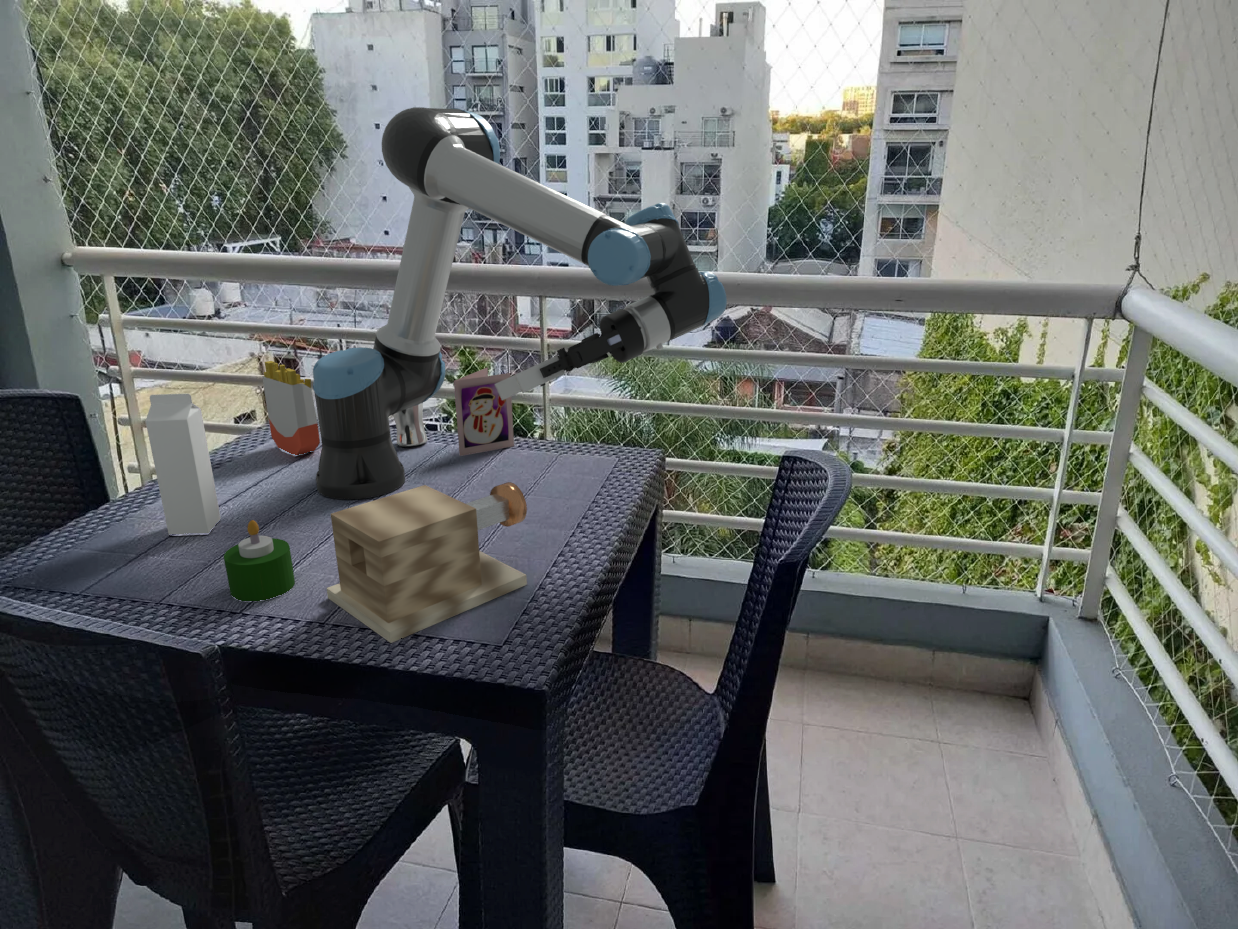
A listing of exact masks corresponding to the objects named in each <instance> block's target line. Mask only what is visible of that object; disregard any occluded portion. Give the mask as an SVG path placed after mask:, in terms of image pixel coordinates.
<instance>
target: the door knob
mask: <svg viewBox="0 0 1238 929" xmlns="http://www.w3.org/2000/svg"><path fill="white" fill-rule="evenodd" d="M489 492H490V493H489V495H487V496H484V497H481V498H478V499H476V500H473V501H470V502H466V503H465V504H467V505H469V506H472V507H474V508H476V513H477V527H478V531H480V530H483V529H486V528H488V527H492V526H494V525H497V524H499V525H502V526H503V527H506V528H507V527H508V528H509V527H512V526H514V525H516V524H519V523H522V522H523V521H524V520H525V519H526V517H527V511H528V507H527V501H526V498H525V495H524V493H523V492H522V490H521V488H520V487H519V486H518V485H517V484H515V483H514V482H511V481H510V482H509V481H508V482H504V483H501V484H499V485H495V486H493V487H492V489H491V490H490V491H489Z"/></svg>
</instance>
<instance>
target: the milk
mask: <svg viewBox="0 0 1238 929" xmlns="http://www.w3.org/2000/svg"><path fill="white" fill-rule="evenodd" d="M149 402H150V406H149V410H148V412H147V415H146V417H145V426H146V430H147V435H148V441H149V446H150V450H151V454H152V455H151V456H152V460H153V465H154V469H155V474H156V480H157V484H158V489H159V494H160V499H161V503H162V509H163V513H164V517H165V518H164V519H165V523H166V528H167V532H168V535H169V534H184V533H185V534H186V533H187V534H188V533H209V532H210V530H211V529H212V528H213V527H214V526H215V524H216V523H217V522H218V521H219V520H220V519H221V518H222V517H221V513H220V507H219V502H218V496H217V491H216V485H215V479H214V473H213V468H212V463H211V457H210V451H209V447H208V441H207V435H206V430H205V423H204V418H203V414H202V413H203V412H202V409H201V407H199V406H198V405H196V404H194V403H193V400H192V395H191V393H167V394H164V393H163V394H150V396H149ZM221 520H222V519H221Z"/></svg>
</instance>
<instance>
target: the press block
mask: <svg viewBox="0 0 1238 929" xmlns="http://www.w3.org/2000/svg"><path fill="white" fill-rule="evenodd" d="M330 519H331V520H330V521H331V529H332V534H333V543H334V550H335V557H336V566H337V571H338V572H337V573H338V580H339V583H337V584H334V585H331V586H329V587H326V593H327V599H328V600H330V601H331V602H333V603H334V604H336V605H337V606H338V607H339V608H341V609H342V610H344V611H346V612H347V613H348V614H349V615H351V616H352V617H354V618H355V619H357V620H358V621H359V622H361V623H362V624H363V625H365V626H366V627H368V628H370V629H371V630H372V631H373V632H375V633H376V634H377V635H379V636H381V637H382V638H383V639H385V640H386V641H387V642H388V643H390V644H392V643H395V642H397V641H399V640H402V639H404V638H407V637H409V636H410V635H414V634H415V633H418V632H419V631H423V630H425V629H427V628H429V627H432V626H434V625H437V624H440V623H441V622H443V621H446V620H448V619H450V618H452V617H455V616H457V615H458V616H459V614H463V613H464V612H467V611H469V610H472V609H474V608H476V607H478V606H481V605H483V604H486V603H487V602H490V601H492V600H494V599H497V598H499V597H501V596H504V595H507V594H509V593H511V592H513V591H516V590H518V589H521V588H523V587H525V586H527V585H528V582H527V581H528V579H527V577H528V576H527V574H525V573H523V572H522V571H520V570H518V569H516V568H514V567H512V566H510V565H508V564H507V563H504V562H502V561H500V560H499V559H497V558H494V557H492V556H490V555H489V554H486V553H484V552H483V551H481V550H480V544H479V543H480V542H479V530H478V527H477V513H476V508H474V507H472V506H469V505H467V504H466V503H465V502H463V501H461V500H459V499H456V498H454V497H452V496H450V495H447V494H445V493H444V492H441V491H439V490H436V489H434V488H433V487H430V486H428V485H426V484H424V485H423V484H422V485H420V486H417V487H414V488H411V489H406V490H403V491H401V492H397V493H394V494H391V495H388V496H385V497H381V498H377V499H374V500H372V501H368V502H365V503H361V504H359V505H355V506H351V507H348V508H344V509H342V510H338V511H335V512H332V513H330ZM401 638H402V639H401Z"/></svg>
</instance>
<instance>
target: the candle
mask: <svg viewBox="0 0 1238 929" xmlns="http://www.w3.org/2000/svg"><path fill="white" fill-rule="evenodd" d="M259 532H260V527H259V524H258V523H257V521H255V520H254V519H252V520H250V521H249V522H248V524H247V533H248V535H249V537H247V538H244V539H243V540H241V541H240V542H239V543H238V544H236V545H234V546H231V547H230V548H228V550H226V551H225V552H224V554H223V562H224V566H225V570H226V576H227V582H228V587H229V594H230V596H231V595H232V596H233V597H235V598H236V599H238V600H237V601H239V600H241V601H240V602H243V601H259V602H261V601H260V600H265V601H267V600H266V599H270V598H273V597H276V596H278V595H281V596H283V595H284V593H285V594H287V593H288V592H290V591H291V590H292V589H293V588H294V587H293V586H295V585H296V580H295V573H294V567H293V561H292V554H291V548H290V547H291V546H290V544H289V543H288V541H286V540H284V539H280V538H275V537H274V538H273V537H270V536H268V535H259ZM290 589H291V590H290ZM289 590H290V591H289ZM287 591H288V592H287ZM286 592H287V593H286ZM282 594H283V595H282ZM232 596H231V597H232ZM233 597H232V598H233ZM276 598H277V597H276ZM236 599H235V600H236ZM273 599H274V598H273ZM270 600H271V599H270Z"/></svg>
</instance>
